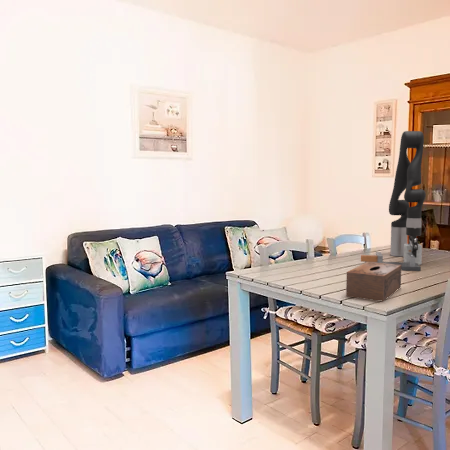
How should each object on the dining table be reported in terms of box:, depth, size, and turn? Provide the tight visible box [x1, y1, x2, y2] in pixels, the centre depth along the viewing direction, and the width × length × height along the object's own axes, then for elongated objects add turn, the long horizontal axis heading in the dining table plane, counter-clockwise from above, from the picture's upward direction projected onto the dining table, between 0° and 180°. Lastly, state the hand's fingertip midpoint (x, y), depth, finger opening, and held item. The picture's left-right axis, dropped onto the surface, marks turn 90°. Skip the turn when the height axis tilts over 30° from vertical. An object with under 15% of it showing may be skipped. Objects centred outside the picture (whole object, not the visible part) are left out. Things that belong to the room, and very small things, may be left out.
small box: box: [403, 243, 423, 266], centre depth 246 cm, size 8×6×10 cm
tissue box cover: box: [345, 262, 402, 302], centre depth 187 cm, size 26×14×10 cm, turn 145°
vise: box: [364, 253, 422, 272], centre depth 236 cm, size 12×26×7 cm, turn 76°
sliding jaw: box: [360, 251, 384, 263], centre depth 238 cm, size 12×10×5 cm
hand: (412, 256), depth 246 cm, fingers open, 8 cm apart
